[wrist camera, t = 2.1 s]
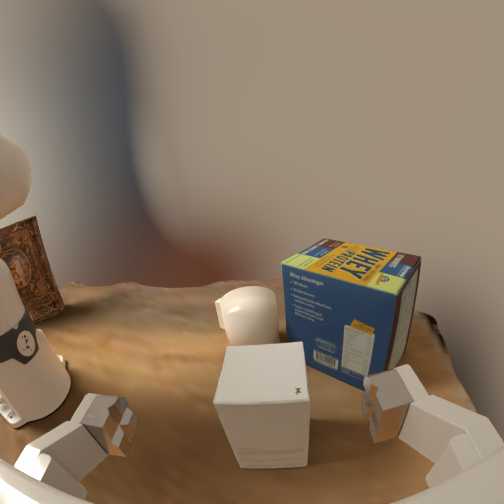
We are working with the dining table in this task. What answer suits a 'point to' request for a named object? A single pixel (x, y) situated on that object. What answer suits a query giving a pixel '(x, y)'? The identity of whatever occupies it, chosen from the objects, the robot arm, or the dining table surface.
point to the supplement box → (265, 404)
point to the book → (30, 269)
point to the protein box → (350, 307)
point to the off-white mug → (249, 316)
